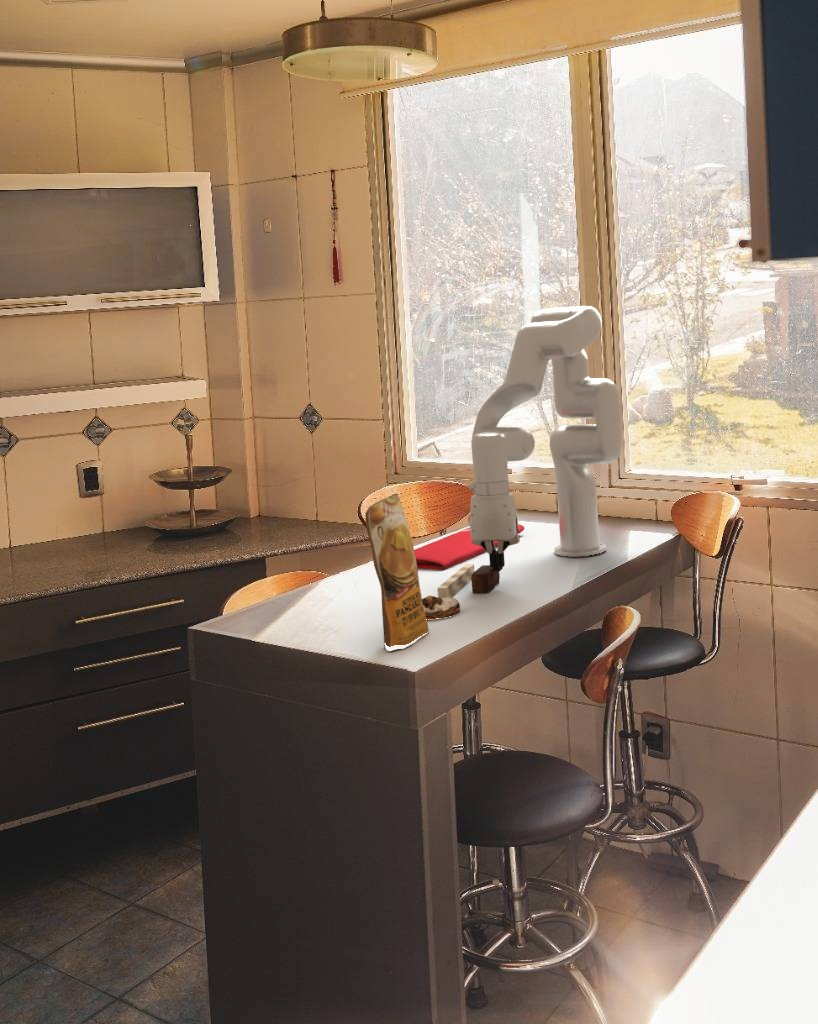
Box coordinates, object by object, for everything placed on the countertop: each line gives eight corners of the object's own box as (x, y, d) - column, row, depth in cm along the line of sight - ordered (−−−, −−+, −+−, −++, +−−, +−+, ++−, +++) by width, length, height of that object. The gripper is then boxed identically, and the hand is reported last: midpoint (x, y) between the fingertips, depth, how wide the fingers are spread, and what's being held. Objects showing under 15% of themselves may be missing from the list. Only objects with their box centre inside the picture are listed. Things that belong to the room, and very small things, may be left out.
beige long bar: (466, 576, 281) (465, 564, 281) (475, 576, 281) (474, 564, 280) (438, 601, 261) (437, 588, 260) (447, 601, 260) (446, 588, 260)
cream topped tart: (406, 605, 261) (404, 587, 261) (473, 605, 257) (471, 586, 256) (386, 624, 247) (384, 604, 247) (456, 624, 243) (455, 604, 243)
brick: (489, 594, 264) (487, 573, 263) (471, 594, 265) (470, 574, 264) (500, 583, 274) (499, 563, 273) (483, 583, 275) (482, 563, 274)
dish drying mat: (391, 568, 299) (390, 554, 298) (476, 534, 332) (475, 521, 331) (445, 572, 290) (443, 557, 290) (526, 537, 323) (525, 523, 323)
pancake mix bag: (365, 654, 226) (351, 508, 221) (408, 626, 243) (396, 489, 238) (398, 656, 223) (384, 508, 219) (438, 627, 240) (427, 489, 235)
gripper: (454, 492, 263) (460, 574, 267) (521, 490, 259) (526, 573, 262) (463, 486, 270) (469, 566, 274) (528, 484, 266) (534, 565, 269)
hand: (497, 569), depth 268 cm, fingers closed
